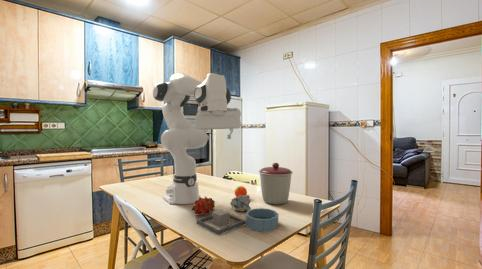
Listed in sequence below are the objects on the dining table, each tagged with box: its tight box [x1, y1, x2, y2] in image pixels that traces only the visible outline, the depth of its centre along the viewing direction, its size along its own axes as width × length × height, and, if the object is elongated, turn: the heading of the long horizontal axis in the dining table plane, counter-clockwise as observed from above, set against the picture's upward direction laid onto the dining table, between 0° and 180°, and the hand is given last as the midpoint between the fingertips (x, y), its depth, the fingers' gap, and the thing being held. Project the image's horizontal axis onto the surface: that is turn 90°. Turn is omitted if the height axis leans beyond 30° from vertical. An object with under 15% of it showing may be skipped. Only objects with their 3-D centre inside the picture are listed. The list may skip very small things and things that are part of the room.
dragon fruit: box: [191, 196, 216, 217], centre depth 111 cm, size 8×8×12 cm
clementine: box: [234, 185, 248, 198], centre depth 135 cm, size 8×7×7 cm
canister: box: [258, 162, 294, 206], centre depth 130 cm, size 18×18×21 cm
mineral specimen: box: [230, 194, 252, 212], centre depth 118 cm, size 10×8×10 cm
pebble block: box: [212, 209, 231, 229], centre depth 100 cm, size 5×5×5 cm
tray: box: [196, 213, 246, 236], centre depth 100 cm, size 14×14×2 cm
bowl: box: [245, 207, 279, 232], centre depth 100 cm, size 13×13×4 cm
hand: (218, 139), depth 107 cm, fingers open, 8 cm apart
